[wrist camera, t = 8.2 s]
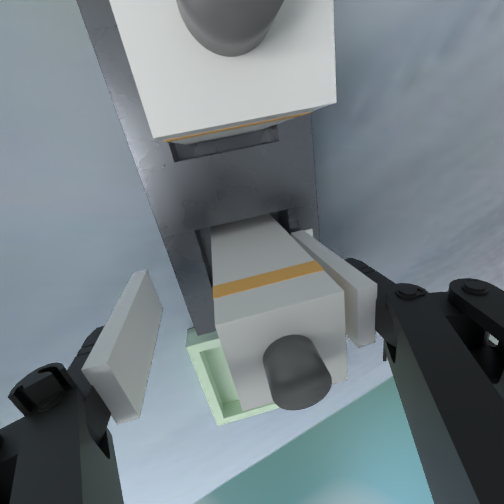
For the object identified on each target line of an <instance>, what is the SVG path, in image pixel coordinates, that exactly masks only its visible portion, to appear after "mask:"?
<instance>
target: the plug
mask: <svg viewBox="0 0 504 504" xmlns="http://www.w3.org/2000/svg"><path fill="white" fill-rule="evenodd" d="M210 229H211V251H212V273H213V286H212V287H213V300H214V317H215V328H216V331H217V334H218V337H219V340H220V343H221V346H222V349H223V352H224V355H225V358H226V361H227V364H228V367H229V370H230V373H231V376H232V380H233V383H234V386H235V389H236V392H237V395H238V398H239V401H240V404H241V407H242V410H243V411H246V410H249V409H252V408H256V407H259V406H262V405H266V404H269V403H272V402H274V403H275V404H276V405H277V406H278V407H280V408H283V409H286V410H301V409H305V408H308V407H310V406H312V405H314V404H316V403H318V402H319V401H320V400H322V399H323V398H324V397H325V396H326V395H327V393H328V392H329V390H330V388H331V385H332V384H336V383H339V382H342V381H346V380H348V379H347V353H346V327H345V300H344V290H343V289H342V288H341V287H340V286H339V285H338V284H337V283H336V282H335V281H334V280H333V279H332V278H331V277H330V276H329V275H328V274H327V273H326V272H325V270H324V269H323V268H322V266H321V265H320V264H319V263H318V262H317V261H316V260H314V259H313V258H312V257H311V256H310V255H309V254H308V253H307V252H306V251H305V250H304V249H303V248H302V247H301V246H300V245H299V244H298V243H297V242H296V241H295V240H294V239H293V238H292V237H291V236H290V235H289V233H288V232H287V231H286V230H285V229H284V228H283V227H282V226H281V225H280V224H279V223H278V222H277V221H276V220H275V219H274V218H273V217H272V216H271V215H270V214H269V213H268V214H264V215H259V216H255V217H250V218H246V219H242V220H237V221H233V222H228V223H224V224H220V225H215V226H211V227H210Z"/></svg>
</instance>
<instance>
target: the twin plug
mask: <svg viewBox="0 0 504 504" xmlns="http://www.w3.org/2000/svg"><path fill="white" fill-rule="evenodd" d="M109 1H110V5H111V8H112V11H113V14H114V17H115V20H116V23H117V27H118V30H119V33H120V36H121V39H122V42H123V45H124V48H125V52H126V55H127V58H128V61H129V64H130V67H131V70H132V74H133V77H134V80H135V83H136V86H137V89H138V92H139V96H140V99H141V102H142V105H143V108H144V111H145V114H146V117H147V121H148V124H149V127H150V130H151V133H152V136H153V138H155V139H159V140H163V141H164V142H174V143H179V144H184V145H192V144H197V143H202V142H207V141H212V140H217V139H222V138H227V137H232V136H237V135H242V134H247V133H252V132H256V131H259V130H262V129H265V128H267V127H270V126H273V125H276V124H279V123H281V122H284V121H287V120H290V119H293V118H295V117H300V116H303V115H306V114H309V113H312V111H315V110H318V109H320V108H323V107H326V106H329V105H332V104H334V103H337V102H336V70H335V38H334V7H333V0H109Z"/></svg>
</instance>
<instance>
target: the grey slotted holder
mask: <svg viewBox="0 0 504 504" xmlns="http://www.w3.org/2000/svg"><path fill="white" fill-rule="evenodd" d="M76 1H77V4H78V6H79V9H80V12H81V15H82V17H83V20H84V23H85V26H86V29H87V31H88V34H89V37H90V40H91V42H92V45H93V48H94V51H95V53H96V56H97V59H98V62H99V65H100V67H101V70H102V73H103V76H104V78H105V81H106V84H107V87H108V89H109V92H110V95H111V98H112V101H113V103H114V106H115V109H116V112H117V114H118V117H119V120H120V123H121V125H122V128H123V131H124V134H125V137H126V139H127V142H128V145H129V148H130V150H131V153H132V156H133V159H134V161H135V164H136V167H137V170H138V173H139V175H140V178H141V181H142V184H143V186H144V189H145V192H146V195H147V197H148V200H149V203H150V206H151V209H152V211H153V214H154V217H155V220H156V222H157V225H158V228H159V231H160V233H161V236H162V239H163V242H164V245H165V247H166V250H167V253H168V256H169V258H170V261H171V264H172V267H173V269H174V272H175V275H176V278H177V281H178V283H179V286H180V289H181V292H182V294H183V297H184V300H185V303H186V305H187V308H188V311H189V314H190V317H191V319H192V322H193V325H194V328H195V330H196V333H197V336H200V335H203V334H207V333H211V332H215V331H216V328H215V317H214V300H213V287H212V286H213V273H212V251H211V229H210V227H211V226H215V225H220V224H224V223H228V222H233V221H237V220H242V219H246V218H250V217H255V216H259V215H264V214H268V213H269V214H270V215H271V216H272V217H273V218H274V219H275V220H276V221H277V222H278V223H279V224H280V225H281V226H282V227H283V228H284V229H285V230H286V231H287V232H288V233H289V235H290V236H291V233H292V232H296V231H300V230H304V231H305V232H306V233H308V234H309V235H311V236H312V237H313V238H315V239H316V240H317V241H319V242H320V236H319V221H318V207H317V193H316V179H315V165H314V151H313V136H312V122H311V113H309V114H306V115H303V116H300V117H295V118H293V119H290V120H287V121H284V122H281V123H279V124H276V125H273V126H270V127H267V128H265V129H262V130H259V131H256V132H252V133H247V134H242V135H237V136H232V137H227V138H222V139H217V140H212V141H207V142H202V143H197V144H192V145H184V144H179V143H174V142H164V141H163V140H159V139H155V138H153V136H152V133H151V130H150V127H149V124H148V121H147V117H146V114H145V111H144V108H143V105H142V102H141V99H140V96H139V92H138V89H137V86H136V83H135V80H134V77H133V74H132V70H131V67H130V64H129V61H128V58H127V55H126V52H125V48H124V45H123V42H122V39H121V36H120V33H119V30H118V27H117V23H116V20H115V17H114V14H113V11H112V8H111V5H110V1H109V0H76Z"/></svg>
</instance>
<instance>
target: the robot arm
mask: <svg viewBox="0 0 504 504" xmlns="http://www.w3.org/2000/svg"><path fill="white" fill-rule="evenodd" d="M291 237H292V238H293V239H294V240H295V241H296V242H297V243H298V244H299V245H300V246H301V247H302V248H303V249H304V250H305V251H306V252H307V253H308V254H309V255H310V256H311V257H312V258H313V259H314V260H316V261H317V262H318V263H319V264H320V265H321V266H322V268H323V269H324V270H325V272H326V273H327V274H328V275H329V276H330V277H331V278H332V279H333V280H334V281H335V282H336V283H337V284H338V285H339V286H340V287H341V288H342V289H343V290H344V300H345V327H346V334H347V335H348V337H349V338H350V339H351V340H352V341H353V343H354V344H355V345H356V346H357V347H358V348H359V347H362V346H365V345H368V344H371V343H374V342H375V337H376V331H377V332H378V333H379V334H380V335H381V336H382V337H383V338H384V347H383V361H386V359H387V358H388V361H389V364H390V367H391V370H392V373H393V376H394V379H395V382H396V386H397V389H398V392H399V395H400V398H401V401H402V404H403V407H404V410H405V414H406V417H407V420H408V423H409V426H410V429H411V432H412V435H413V438H414V442H415V445H416V448H417V451H418V454H419V457H420V460H421V463H422V466H423V470H424V473H425V476H426V479H427V482H428V485H429V488H430V491H431V494H432V498H433V501H434V504H504V291H503V290H501V289H499V288H498V287H496V286H494V285H492V284H490V283H487V282H484V281H481V280H478V279H471V278H465V279H457V280H453V281H452V282H451V283H450V285H449V290H448V292H436V293H428V292H427V291H426V290H425V289H423V288H421V287H419V286H417V285H413V284H406V283H400V284H395V283H394V282H392V281H391V280H389V279H388V278H386V277H385V276H383V275H382V274H380V273H379V272H377V271H375V270H374V269H372V268H371V267H369V266H368V265H366V264H365V263H363V262H362V261H359V260H356V259H353V258H348V259H345V260H343V259H342V258H341V257H339V256H338V255H337V254H335V253H334V252H332V251H331V250H330V249H328V248H327V247H326V246H324V245H323V244H322V243H320V242H319V241H317V240H316V239H315V238H313V237H312V236H311V235H309V234H308V233H306V232H305V231H304V230H300V231H296V232H292V233H291ZM162 312H163V307H162V304H161V302H160V299H159V297H158V295H157V292H156V290H155V287H154V285H153V282H152V280H151V278H150V275H149V273H148V270H147V269H145V270H141V271H137V272H133V273H132V275H131V277H130V279H129V281H128V283H127V285H126V287H125V289H124V290H123V292H122V294H121V296H120V298H119V300H118V302H117V304H116V305H115V307H114V309H113V311H112V313H111V315H110V317H109V319H108V320H107V322H106V324H105V326H102V327H99V328H96V329H95V330H94V331H93V332H92V333H91V334H90V335H89V336H88V337H87V338H86V340H85V342H84V343H83V345H82V347H81V348H82V349H80V350H79V352H78V354H77V357H75V359H74V360H73V362H72V364H71V365H70V367H69V369H68V370H66V369H65V368H64V366H63V365H62V364H61V363H51V364H47V365H45V366H43V367H40V368H38V369H36V370H35V371H33V372H31V373H30V374H28V375H27V376H26V377H24V378H23V379H22V380H21V381H19V382H18V383H17V385H16V386H15V387H14V388H13V389H12V390H11V392H10V394H9V396H8V398H9V399H10V400H11V401H12V402H13V403H14V405H15V406H16V407H17V408H18V409H19V410H20V411H21V412H22V413H23V414H24V416H25V417H23V418H21V419H19V420H17V421H15V422H13V423H11V424H10V425H8V426H6V427H4V428H2V429H0V504H124V502H123V496H122V491H121V485H120V480H119V474H118V468H117V463H116V457H115V451H114V446H113V440H112V435H111V433H110V431H109V430H108V428H107V425H108V421H109V418H110V415H111V416H112V417H113V419H114V420H115V421H116V423H117V424H121V423H125V422H128V421H131V420H134V419H137V418H140V414H141V410H142V405H143V400H144V396H145V391H146V386H147V382H148V377H149V373H150V368H151V363H152V359H153V354H154V349H155V345H156V340H157V336H158V331H159V326H160V322H161V317H162ZM490 334H491V335H492V336H494V337H495V338H496V339H497V340H499V342H498V345H495V344H494V343H492V342H491V341H490V340H489V336H490Z"/></svg>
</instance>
